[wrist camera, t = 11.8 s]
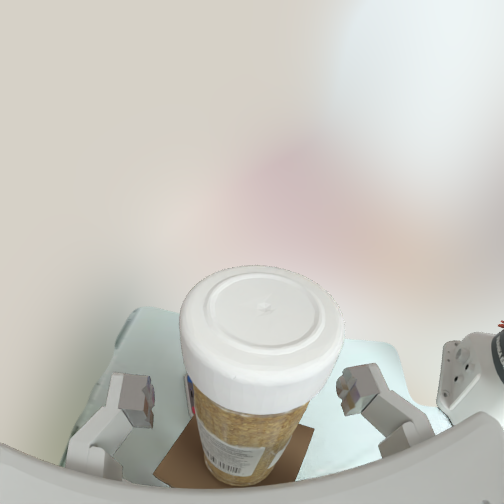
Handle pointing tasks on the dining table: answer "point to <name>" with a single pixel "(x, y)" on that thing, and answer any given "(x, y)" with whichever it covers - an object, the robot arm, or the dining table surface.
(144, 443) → the dining table surface
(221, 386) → the sprinkles bottle
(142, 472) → the dining table surface
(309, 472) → the dining table surface
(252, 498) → the robot arm
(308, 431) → the stool
